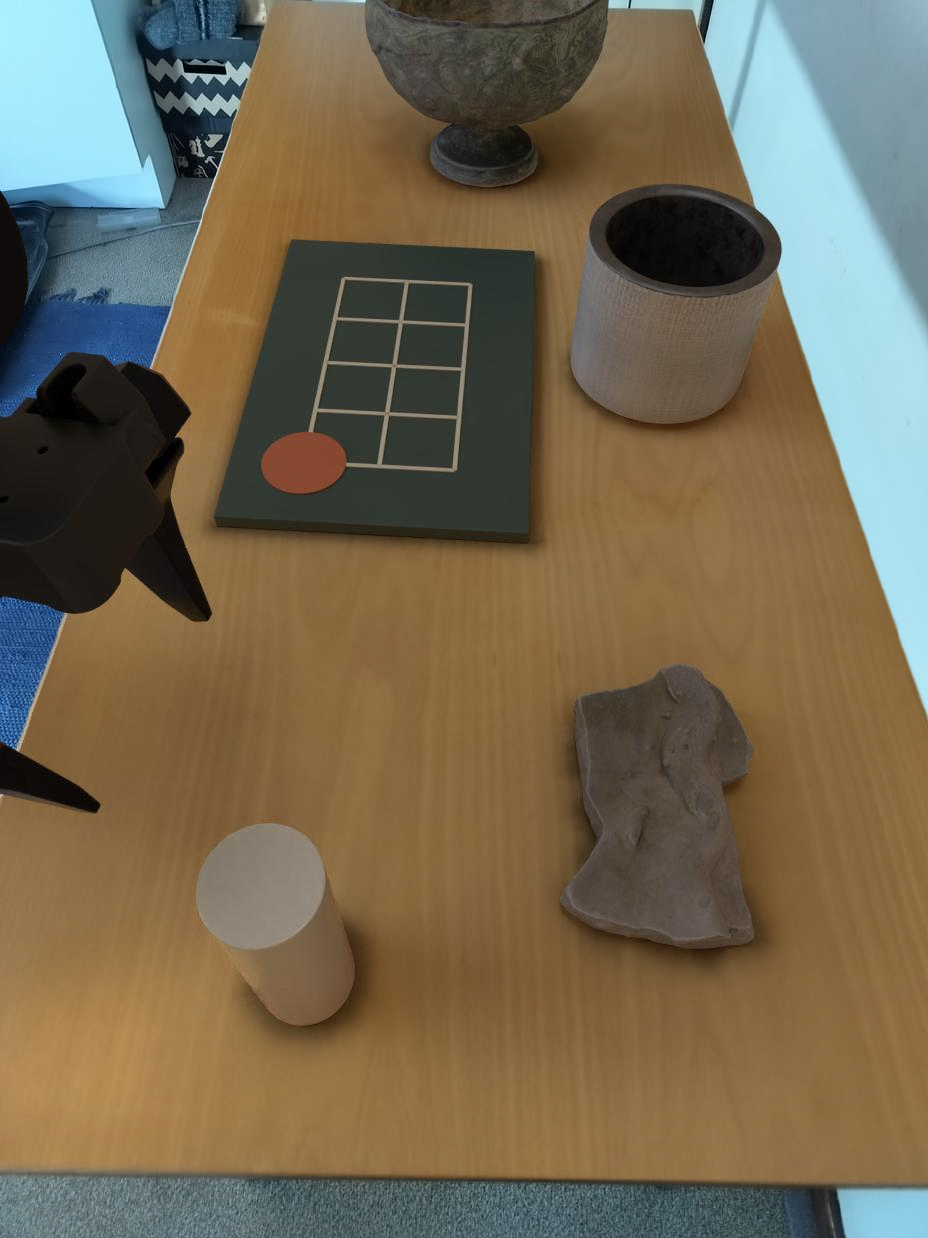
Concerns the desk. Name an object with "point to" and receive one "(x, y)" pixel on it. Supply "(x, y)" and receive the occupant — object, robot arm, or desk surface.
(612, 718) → the stone
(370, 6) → the bowl
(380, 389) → the board
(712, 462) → the desk surface
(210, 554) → the desk surface
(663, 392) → the planter
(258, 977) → the white upright cylinder
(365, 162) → the desk surface
